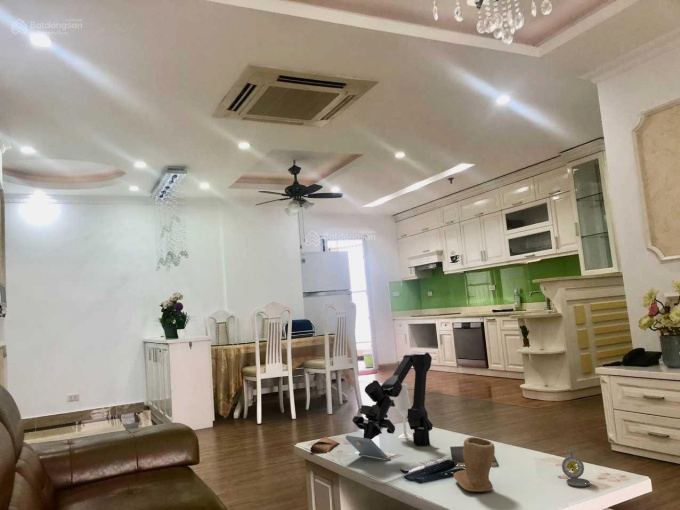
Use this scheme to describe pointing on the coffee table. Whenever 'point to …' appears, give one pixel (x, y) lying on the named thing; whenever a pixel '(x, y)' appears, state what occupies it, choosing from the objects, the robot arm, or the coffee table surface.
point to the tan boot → (476, 465)
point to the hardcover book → (458, 456)
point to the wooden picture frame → (389, 456)
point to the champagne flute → (403, 408)
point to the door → (366, 447)
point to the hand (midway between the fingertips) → (364, 443)
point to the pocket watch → (570, 464)
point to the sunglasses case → (323, 445)
